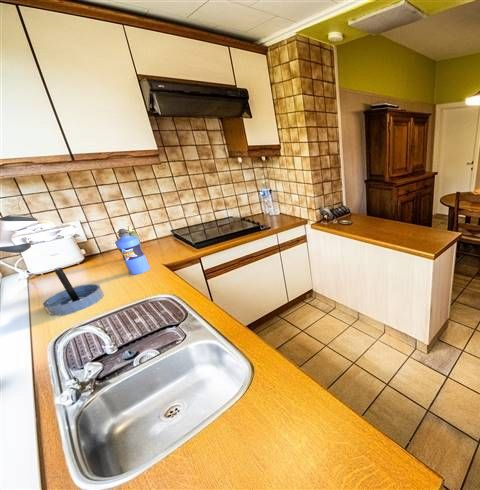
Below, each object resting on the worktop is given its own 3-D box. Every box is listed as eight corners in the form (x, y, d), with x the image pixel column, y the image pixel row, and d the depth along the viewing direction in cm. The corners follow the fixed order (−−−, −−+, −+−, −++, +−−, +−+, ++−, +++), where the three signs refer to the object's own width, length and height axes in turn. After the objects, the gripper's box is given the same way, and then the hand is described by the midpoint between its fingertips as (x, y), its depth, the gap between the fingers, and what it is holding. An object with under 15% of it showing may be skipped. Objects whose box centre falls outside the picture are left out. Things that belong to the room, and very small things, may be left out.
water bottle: (134, 268, 152) (115, 227, 142) (153, 265, 154) (136, 225, 144) (126, 276, 144) (105, 233, 133) (146, 273, 146) (127, 230, 136)
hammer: (70, 309, 116) (48, 273, 108) (69, 304, 119) (47, 269, 112) (87, 303, 119) (67, 268, 112) (86, 298, 123) (66, 264, 116)
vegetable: (138, 254, 170) (125, 225, 162) (146, 253, 172) (134, 224, 164) (136, 257, 167) (123, 227, 159) (144, 255, 168) (132, 226, 160)
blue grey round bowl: (51, 324, 108) (43, 312, 106) (50, 308, 119) (42, 297, 116) (108, 303, 120) (102, 292, 118) (102, 290, 131) (96, 280, 128)
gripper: (76, 231, 140) (79, 236, 131) (16, 244, 126) (15, 251, 117) (70, 220, 137) (73, 224, 129) (8, 232, 123) (6, 238, 115)
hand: (44, 237), depth 123 cm, fingers open, 8 cm apart
